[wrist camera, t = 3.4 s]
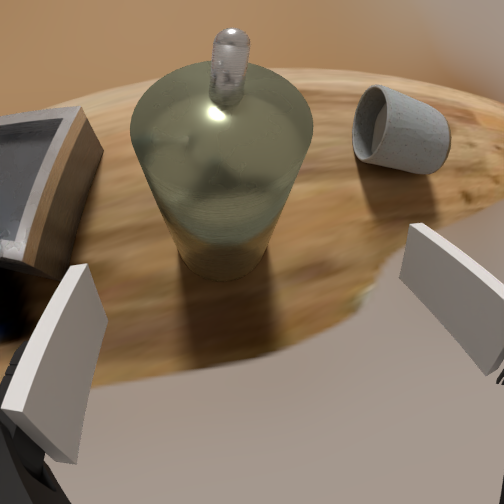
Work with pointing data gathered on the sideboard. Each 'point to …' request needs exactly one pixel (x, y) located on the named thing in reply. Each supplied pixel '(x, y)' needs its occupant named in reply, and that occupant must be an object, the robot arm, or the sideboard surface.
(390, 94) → the ceramic mug
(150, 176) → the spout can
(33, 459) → the robot arm
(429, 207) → the sideboard surface
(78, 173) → the grey rectangular tray
